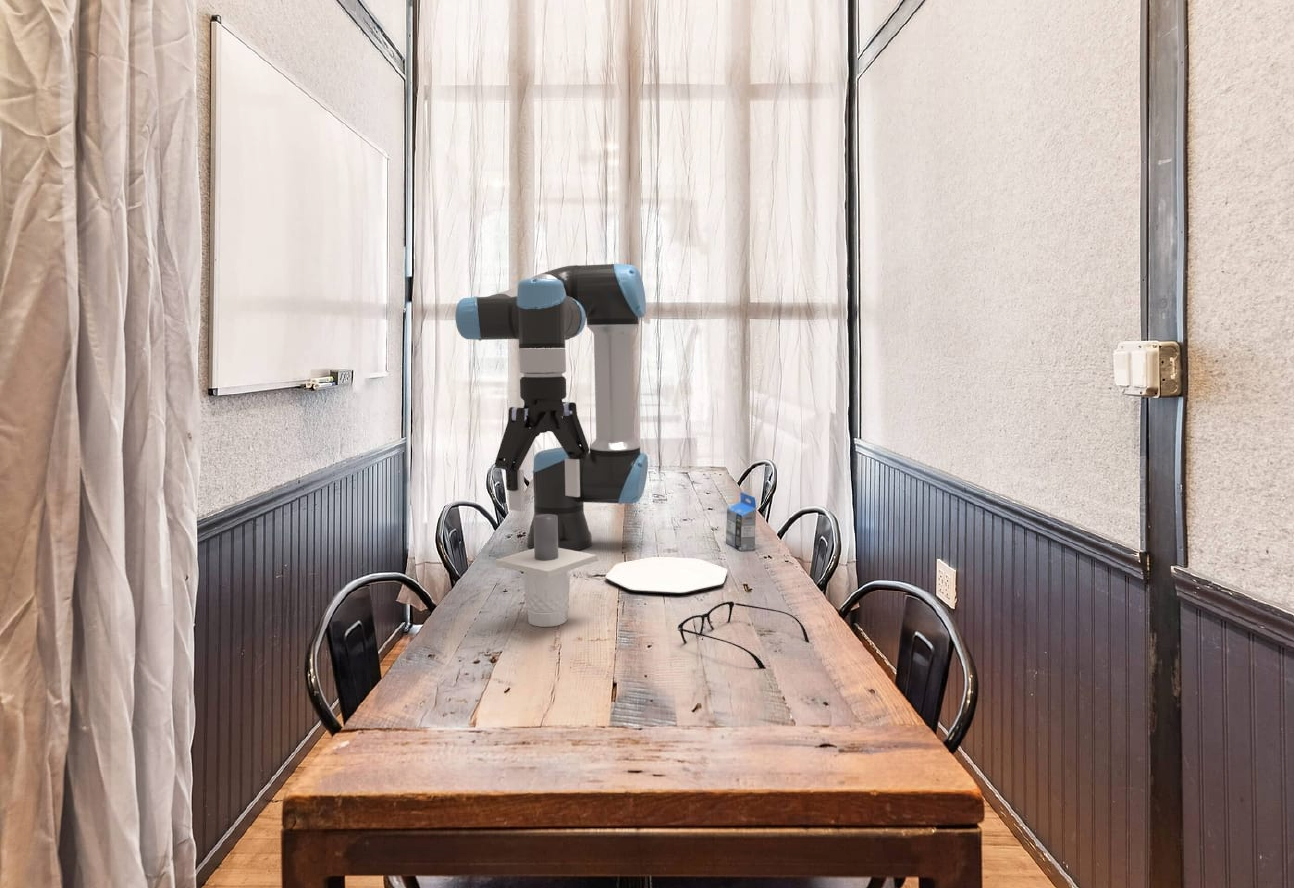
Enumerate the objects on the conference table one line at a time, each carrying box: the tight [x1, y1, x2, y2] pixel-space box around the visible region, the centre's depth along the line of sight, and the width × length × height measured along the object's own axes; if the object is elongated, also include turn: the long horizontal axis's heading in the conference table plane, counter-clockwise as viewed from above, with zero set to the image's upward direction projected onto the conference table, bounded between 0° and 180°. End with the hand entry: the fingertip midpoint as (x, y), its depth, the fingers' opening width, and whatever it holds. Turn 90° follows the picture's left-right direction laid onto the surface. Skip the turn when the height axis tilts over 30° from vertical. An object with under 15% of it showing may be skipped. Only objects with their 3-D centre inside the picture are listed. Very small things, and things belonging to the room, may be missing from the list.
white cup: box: [523, 570, 571, 628], centre depth 129 cm, size 8×8×10 cm
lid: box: [494, 514, 598, 578], centre depth 128 cm, size 12×12×8 cm
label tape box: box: [725, 491, 757, 552], centre depth 178 cm, size 9×4×12 cm, turn 17°
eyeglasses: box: [676, 600, 810, 670], centre depth 119 cm, size 16×16×4 cm
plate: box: [604, 556, 729, 595], centre depth 153 cm, size 24×24×2 cm
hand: (546, 503), depth 127 cm, fingers open, 13 cm apart
